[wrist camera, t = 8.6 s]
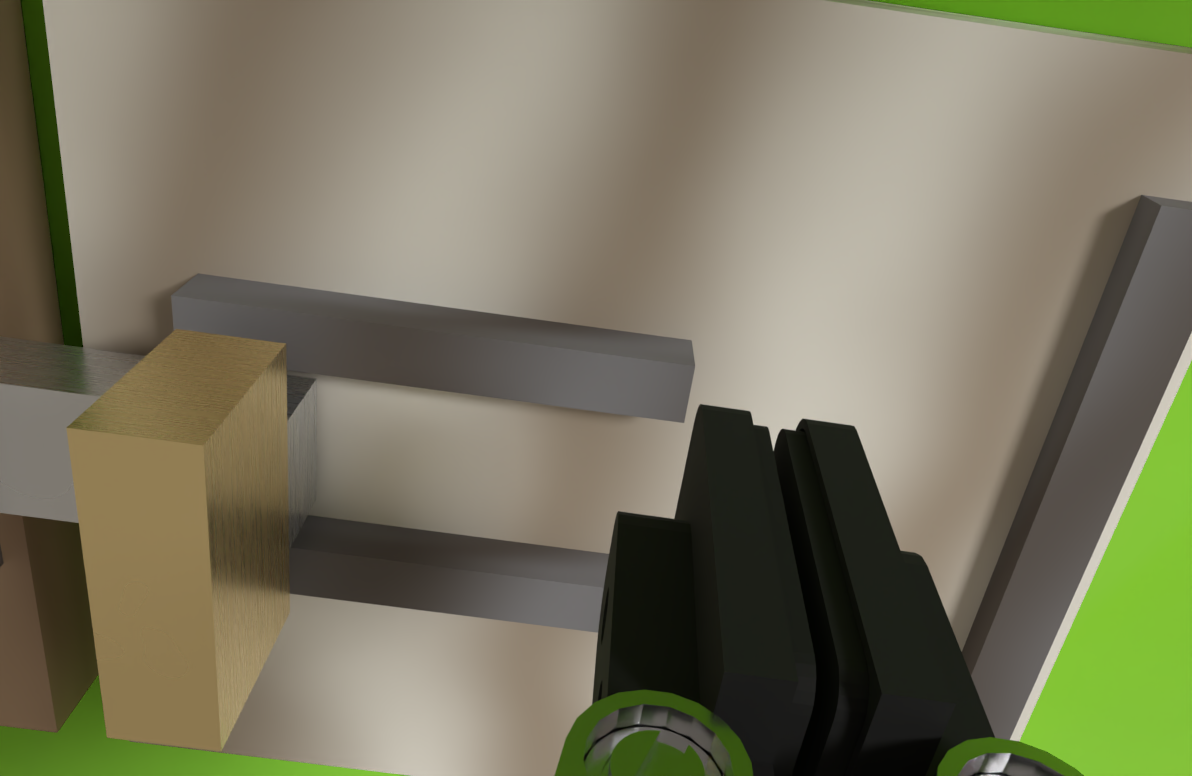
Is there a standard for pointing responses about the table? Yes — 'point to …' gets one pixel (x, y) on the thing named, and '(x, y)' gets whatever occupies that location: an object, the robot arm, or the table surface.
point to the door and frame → (603, 313)
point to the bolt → (168, 511)
